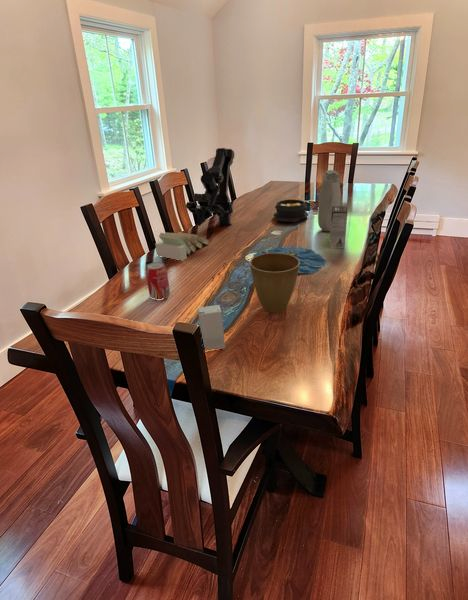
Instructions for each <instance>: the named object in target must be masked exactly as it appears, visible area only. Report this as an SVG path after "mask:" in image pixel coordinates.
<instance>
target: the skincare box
mask: <svg viewBox="0 0 468 600" xmlns="http://www.w3.org/2000/svg"><path fill="white" fill-rule="evenodd" d="M197 314H198V315H197V316H198V320H199V329H200V328H201V330H200V333H201V332H202V337H203V342H204V347H205V351H206V350H210V349H219V348H225V349H226V342H225V333H224V322H223V312H222V310H221V307H220V304H215V305H209V306H201V307H200V306H199V307H197ZM202 337H201V338H202Z"/></svg>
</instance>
